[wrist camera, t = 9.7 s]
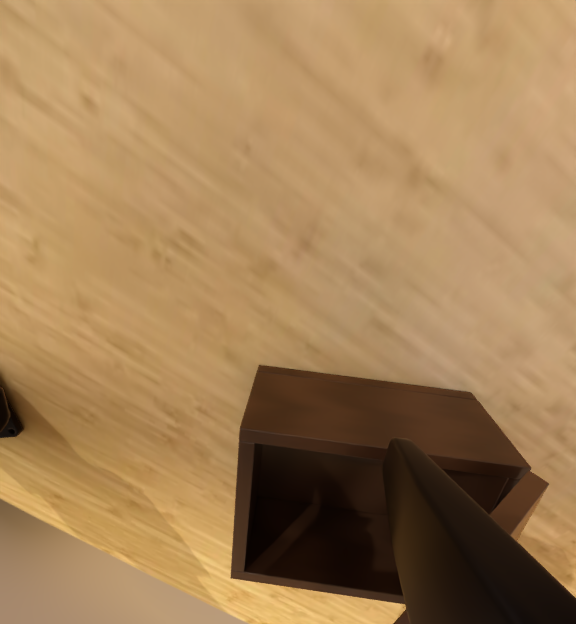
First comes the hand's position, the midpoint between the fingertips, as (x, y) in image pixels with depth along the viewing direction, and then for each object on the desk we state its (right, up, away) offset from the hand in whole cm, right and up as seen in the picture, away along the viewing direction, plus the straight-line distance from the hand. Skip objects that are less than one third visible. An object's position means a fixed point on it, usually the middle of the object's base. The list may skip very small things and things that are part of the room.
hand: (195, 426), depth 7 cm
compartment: (+6, -7, +15) cm, 18 cm away
